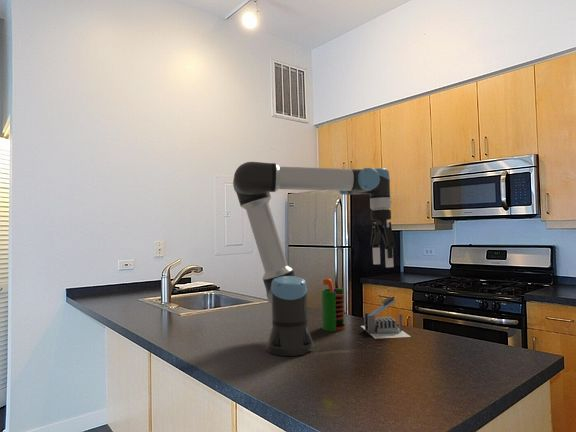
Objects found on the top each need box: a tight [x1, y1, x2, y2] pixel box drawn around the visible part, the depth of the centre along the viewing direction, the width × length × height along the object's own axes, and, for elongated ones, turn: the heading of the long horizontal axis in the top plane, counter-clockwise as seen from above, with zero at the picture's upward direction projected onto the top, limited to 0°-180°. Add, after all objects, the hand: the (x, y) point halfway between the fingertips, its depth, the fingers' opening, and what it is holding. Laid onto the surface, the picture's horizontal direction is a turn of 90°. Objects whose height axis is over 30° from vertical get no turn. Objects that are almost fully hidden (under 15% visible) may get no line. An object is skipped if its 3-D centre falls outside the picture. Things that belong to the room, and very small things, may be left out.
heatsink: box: [375, 315, 399, 334], centre depth 153 cm, size 8×8×4 cm
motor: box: [321, 278, 346, 333], centre depth 159 cm, size 10×9×20 cm
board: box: [360, 325, 412, 339], centre depth 153 cm, size 19×13×1 cm
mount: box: [363, 312, 403, 335], centre depth 153 cm, size 5×13×6 cm, turn 95°
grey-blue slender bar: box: [366, 296, 396, 318], centre depth 153 cm, size 3×12×2 cm
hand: (382, 265), depth 155 cm, fingers open, 13 cm apart
